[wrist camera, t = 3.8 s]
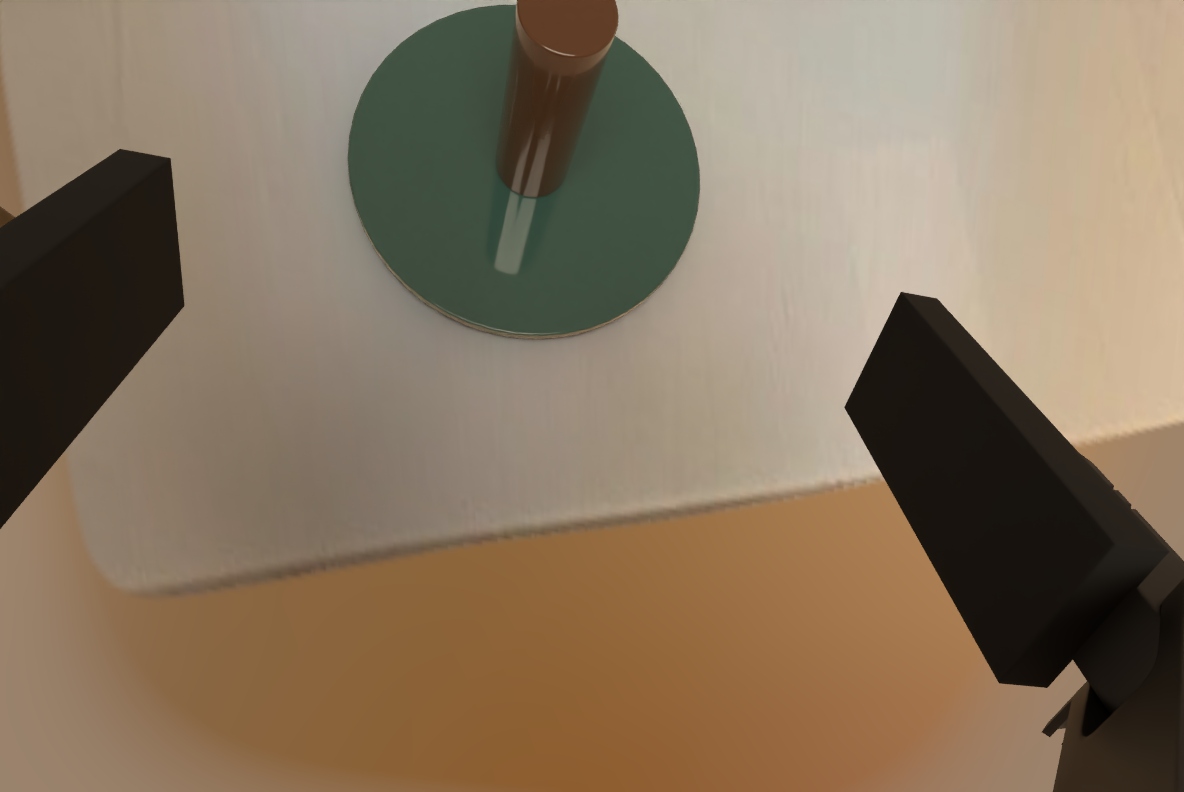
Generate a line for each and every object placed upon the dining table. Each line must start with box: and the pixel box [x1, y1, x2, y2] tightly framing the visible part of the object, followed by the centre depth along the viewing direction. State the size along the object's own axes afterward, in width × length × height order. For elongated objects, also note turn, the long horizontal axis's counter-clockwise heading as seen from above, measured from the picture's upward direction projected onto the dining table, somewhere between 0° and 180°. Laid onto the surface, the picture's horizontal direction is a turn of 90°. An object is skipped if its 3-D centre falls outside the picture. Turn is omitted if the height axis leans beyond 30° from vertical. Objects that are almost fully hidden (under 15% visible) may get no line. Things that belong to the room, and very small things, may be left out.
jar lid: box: [348, 0, 700, 339], centre depth 25 cm, size 14×14×10 cm
